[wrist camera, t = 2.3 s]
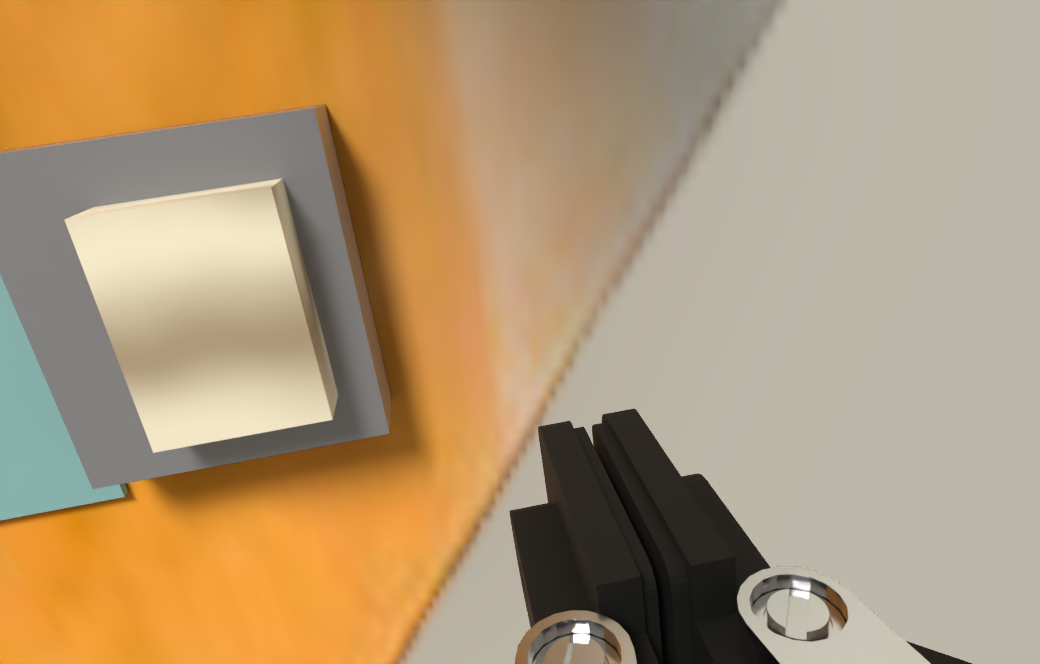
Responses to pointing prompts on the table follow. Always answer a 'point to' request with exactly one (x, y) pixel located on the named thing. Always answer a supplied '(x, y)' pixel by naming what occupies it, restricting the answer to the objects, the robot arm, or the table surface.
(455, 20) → the table surface
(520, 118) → the table surface
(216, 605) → the table surface
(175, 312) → the birch tile
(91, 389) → the grey flat square block
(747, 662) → the robot arm
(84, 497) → the mat
